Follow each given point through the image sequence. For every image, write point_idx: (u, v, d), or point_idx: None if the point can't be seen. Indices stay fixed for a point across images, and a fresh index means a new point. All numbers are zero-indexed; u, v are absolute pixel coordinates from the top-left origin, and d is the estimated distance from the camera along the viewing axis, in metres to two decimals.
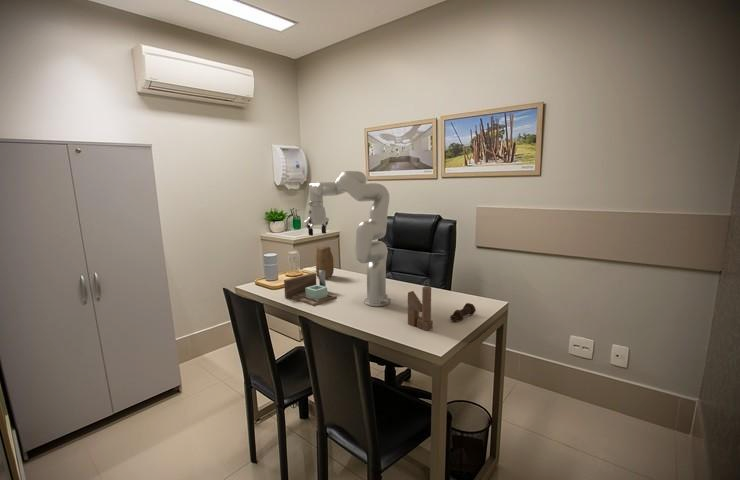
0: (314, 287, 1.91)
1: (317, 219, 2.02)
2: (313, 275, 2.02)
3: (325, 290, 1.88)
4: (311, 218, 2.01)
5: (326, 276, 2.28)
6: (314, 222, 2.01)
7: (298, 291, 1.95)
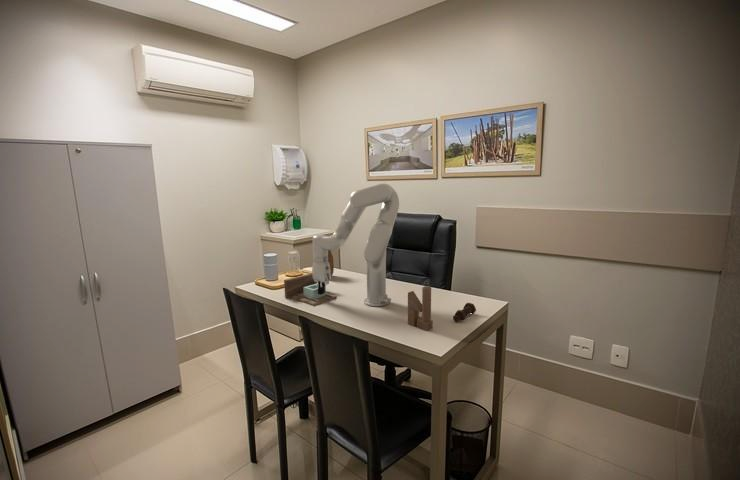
0: (312, 286, 1.92)
1: None
2: None
3: None
4: (329, 274, 1.81)
5: None
6: None
7: (298, 291, 1.95)
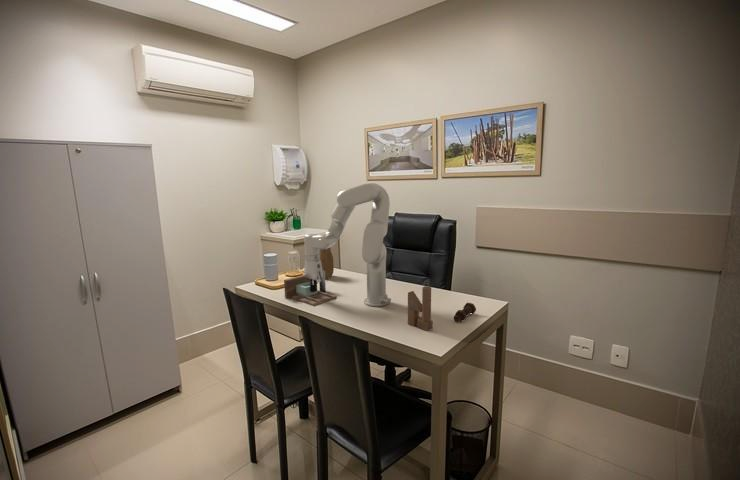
0: (305, 284, 1.96)
1: None
2: None
3: None
4: (321, 272, 1.86)
5: (326, 276, 2.28)
6: None
7: None
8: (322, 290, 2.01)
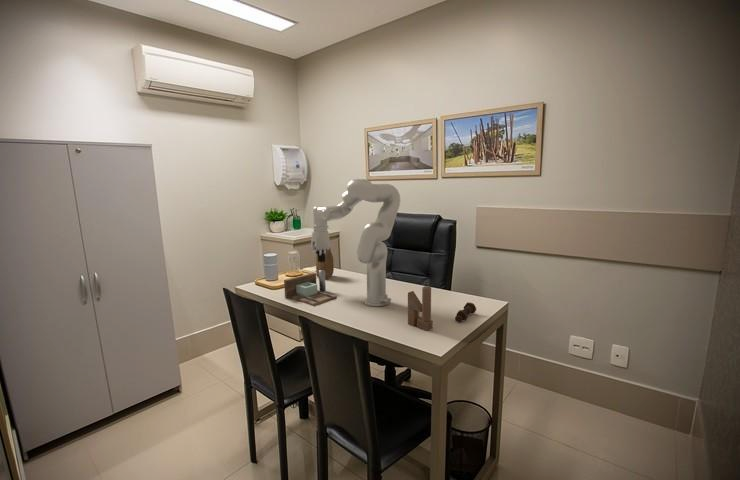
0: (305, 284, 1.96)
1: None
2: (313, 275, 2.02)
3: (315, 287, 1.93)
4: None
5: (326, 276, 2.28)
6: None
7: None
8: (322, 290, 2.01)
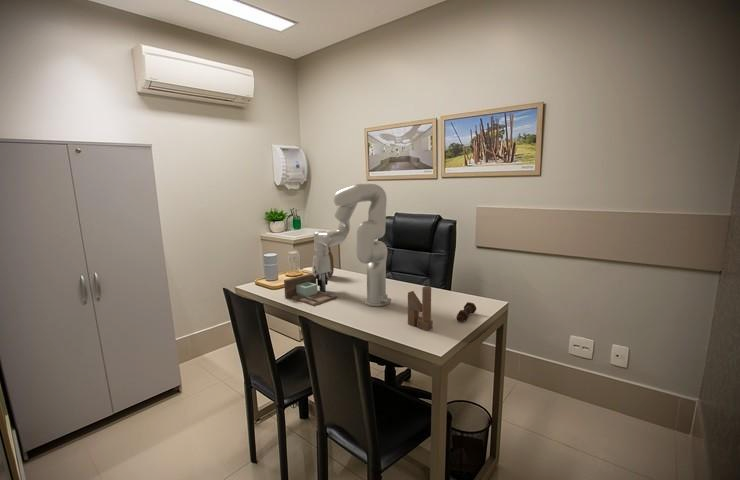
0: (305, 284, 1.96)
1: None
2: None
3: (315, 287, 1.93)
4: None
5: None
6: None
7: None
8: (322, 290, 2.01)
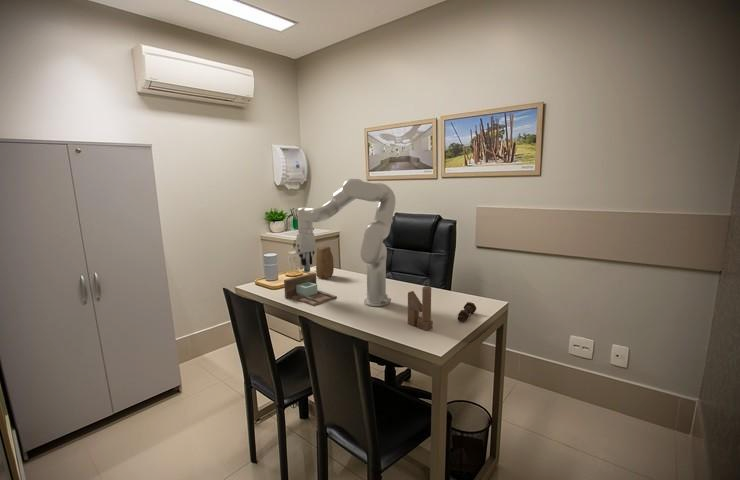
0: (305, 284, 1.96)
1: None
2: (313, 275, 2.02)
3: (315, 287, 1.93)
4: None
5: (326, 276, 2.28)
6: None
7: None
8: (306, 270, 1.91)
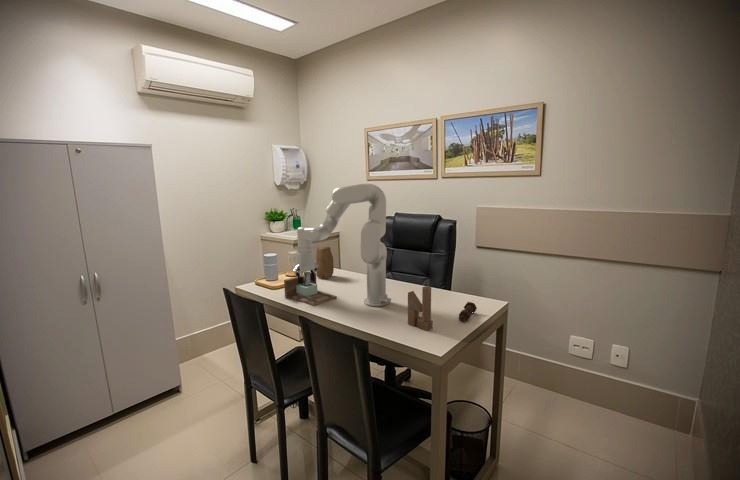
0: None
1: None
2: None
3: (315, 287, 1.93)
4: None
5: (326, 276, 2.28)
6: None
7: None
8: None
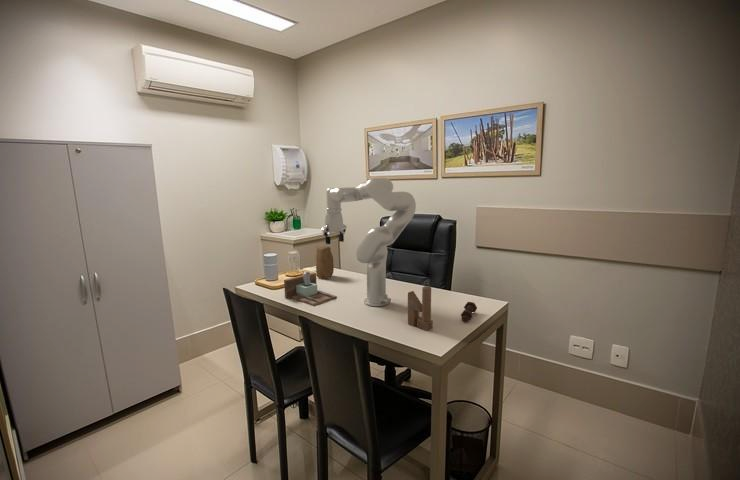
0: None
1: None
2: (313, 275, 2.02)
3: (315, 287, 1.93)
4: None
5: (326, 276, 2.28)
6: None
7: None
8: None
